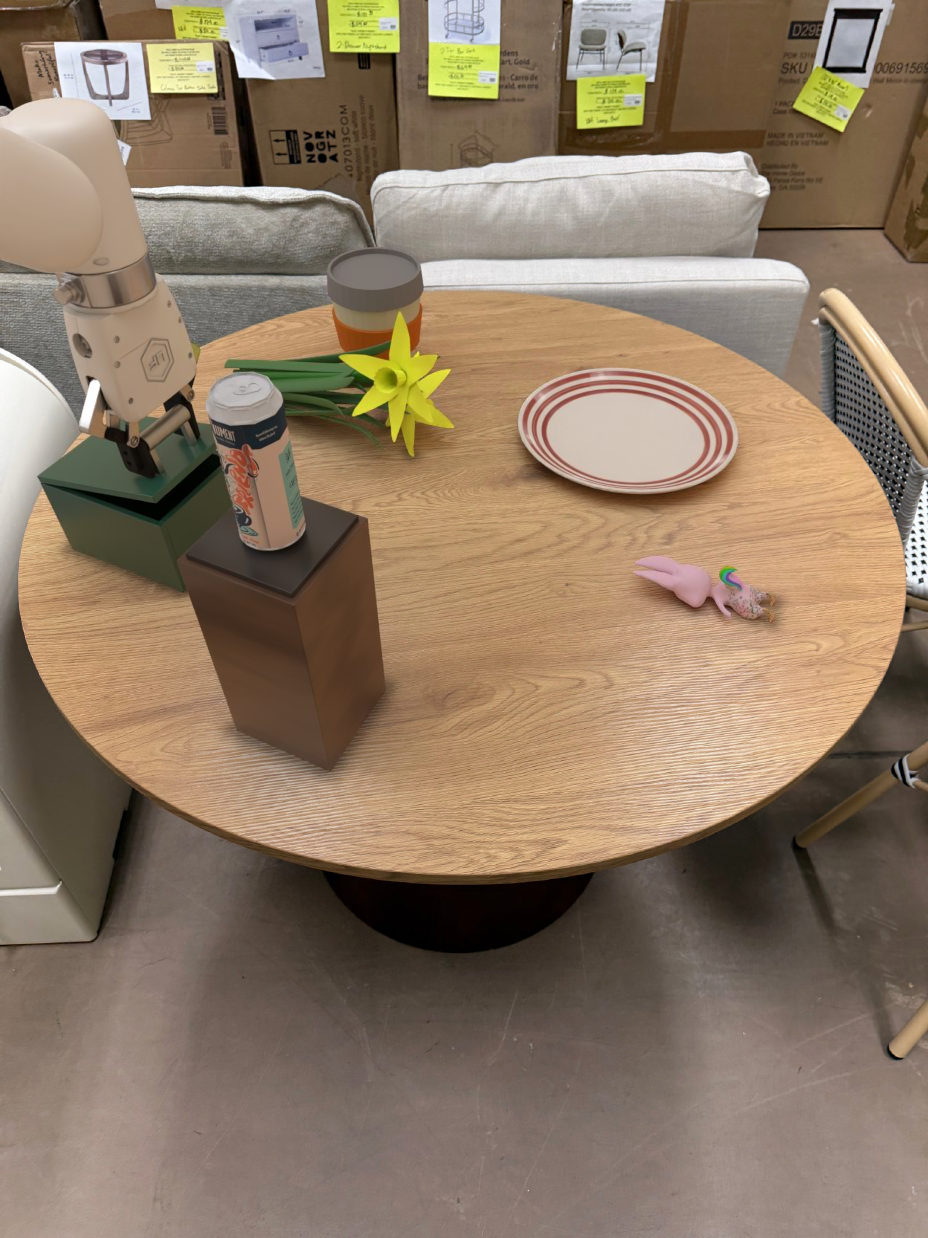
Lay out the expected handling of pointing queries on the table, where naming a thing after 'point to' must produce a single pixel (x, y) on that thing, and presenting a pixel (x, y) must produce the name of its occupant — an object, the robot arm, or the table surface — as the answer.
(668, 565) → the rabbit figure
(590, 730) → the table surface
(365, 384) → the daffodil flowers
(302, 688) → the stand
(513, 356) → the table surface
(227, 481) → the beer can
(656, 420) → the dinner plate
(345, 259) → the reusable coffee cup
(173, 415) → the lid
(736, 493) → the table surface
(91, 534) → the box
